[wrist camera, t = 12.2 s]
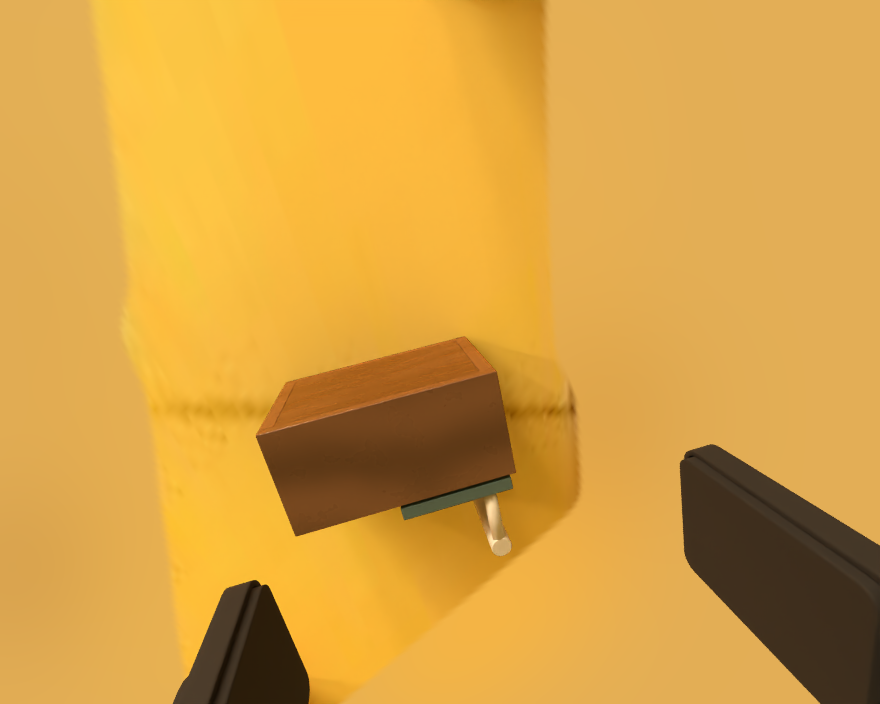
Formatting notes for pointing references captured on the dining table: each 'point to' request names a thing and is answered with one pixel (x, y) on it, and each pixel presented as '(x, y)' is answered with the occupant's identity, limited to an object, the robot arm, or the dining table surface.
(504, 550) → the sliding door
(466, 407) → the cabinet
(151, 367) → the dining table surface
